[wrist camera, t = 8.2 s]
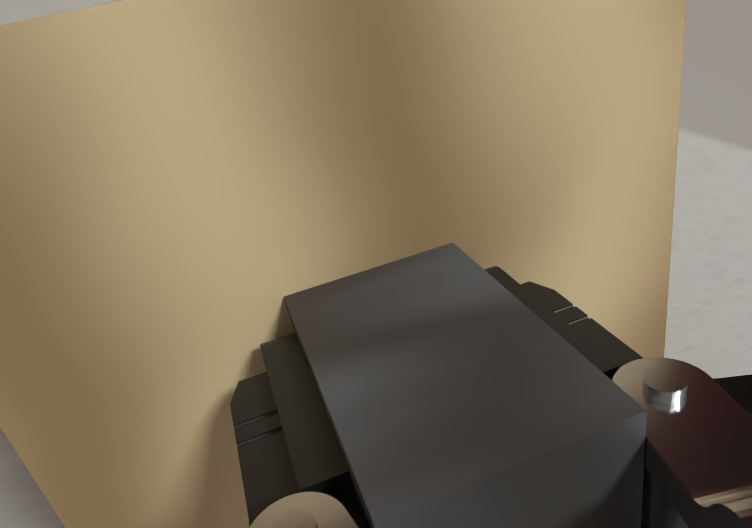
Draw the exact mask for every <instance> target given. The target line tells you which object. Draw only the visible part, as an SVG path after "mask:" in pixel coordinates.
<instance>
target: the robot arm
mask: <svg viewBox="0 0 752 528" xmlns="http://www.w3.org/2000/svg"><path fill="white" fill-rule="evenodd" d="M484 270H485V271H486V272H487V273H489V274H490V275H491V276H492V277H493V278H494V279H496V280H497V281H498V282H499V283H500V284H501V285H502V286H504V287H505V288H506V289H507V290H508V291H509V292H511V293H512V294H513V295H514V296H515V297H516V298H517V299H519V300H520V301H521V302H522V303H523V304H524V305H526V306H527V307H528V308H529V309H530V310H531V311H532V312H534V313H535V314H536V315H537V316H538V317H539V318H541V319H542V320H543V321H544V322H545V323H546V324H547V325H549V326H550V327H551V328H552V329H553V330H554V331H556V332H557V333H558V334H559V335H560V336H561V337H562V338H564V339H565V340H566V341H567V342H568V343H569V344H571V345H572V346H573V347H574V348H575V349H576V350H577V351H579V352H580V353H581V354H582V355H583V356H584V357H586V358H587V359H588V360H589V361H590V362H591V363H592V364H594V365H595V366H596V367H597V368H598V369H599V370H600V371H602V372H603V373H604V374H605V375H606V376H607V377H609V378H610V379H611V380H612V381H613V382H614V383H615V384H617V385H618V386H619V387H620V388H621V389H622V390H624V391H625V392H626V393H627V394H628V395H629V396H630V397H632V398H633V399H634V400H635V401H636V402H637V403H639V404H640V405H641V406H642V407H643V408H644V409H645V410H647V416H646V436H645V456H644V476H643V495H642V515H641V528H752V375H743V376H735V377H726V378H716V379H712V378H711V377H710V376H709V375H708V374H707V373H706V372H704V371H703V370H701V369H699V368H698V367H695V366H693V365H691V364H689V363H686V362H683V361H679V360H675V359H670V358H660V357H652V358H643V357H642V356H640V355H639V354H638V353H637V352H635V351H634V350H633V349H631V348H630V347H629V346H627V345H626V344H625V343H623V342H622V341H621V340H620V339H618V338H617V337H616V336H614V335H613V334H612V333H610V332H609V331H608V330H606V329H605V328H604V327H603V326H601V325H600V324H599V323H597V322H596V321H595V320H593V319H592V318H590V319H589V318H588V315H587V314H586V313H584V312H583V311H582V310H580V309H579V308H578V307H574V306H573V304H572V303H571V302H570V301H568V300H567V299H566V298H565V297H563V296H562V295H561V294H559V293H558V292H557V291H555V290H554V289H551V288H548V287H545V286H542V285H539V284H536V283H533V282H530V281H529V282H526V283H523V284H519V283H518V282H517V281H516V280H514V279H513V278H512V277H511V276H509V275H508V274H507V273H506V272H505V271H503V270H502V269H501V268H499V267H498V266H493V267H490V268H487V269H484ZM260 348H261V352H262V355H263V359H264V363H265V366H266V370H267V372H264V373H261V374H258V375H255V376H252V377H249V378H247V379H244V380H241V381H239V382H238V384H237V387H236V389H235V392H234V394H233V397H232V399H231V402H230V408H231V414H232V420H233V426H234V432H235V438H236V444H237V447H238V448H237V450H238V457H239V463H240V469H241V475H242V481H243V487H244V493H245V499H246V505H247V511H248V518H249V528H365V525H364V521H363V518H362V514H361V510H360V507H359V503H358V500H357V496H356V493H355V489H354V486H353V482H352V478H351V475H350V471H349V469H348V466H347V463H346V461H345V458H344V456H343V453H342V451H341V448H340V446H339V443H338V440H337V438H336V435H335V433H334V430H333V428H332V425H331V422H330V420H329V417H328V415H327V412H326V410H325V407H324V404H323V402H322V399H321V397H320V394H319V392H318V389H317V387H316V384H315V381H314V379H313V376H312V374H311V371H310V369H309V366H308V363H307V361H306V358H305V356H304V353H303V351H302V348H301V345H300V343H299V340H298V338H297V335H296V333H292V334H289V335H286V336H283V337H280V338H277V339H274V340H271V341H268V342H265V343H262V344H260Z"/></svg>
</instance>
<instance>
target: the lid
mask: <svg viewBox="0 0 752 528" xmlns="http://www.w3.org/2000/svg"><path fill="white" fill-rule="evenodd" d="M686 6H687V0H122V1H117V2H113V3H108V4H103V5H98V6H93V7H88V8H83V9H78V10H74V11H69V12H64V13H59V14H54V15H49V16H44V17H39V18H34V19H30V20H25V21H20V22H15V23H10V24H5V25H0V428H1V430H2V431H3V433H4V434H5V436H6V437H7V439H8V440H9V442H10V443H11V445H12V447H13V448H14V450H15V451H16V453H17V454H18V456H19V457H20V459H21V461H22V462H23V464H24V465H25V467H26V468H27V470H28V471H29V473H30V475H31V476H32V478H33V479H34V481H35V482H36V484H37V485H38V487H39V489H40V490H41V492H42V493H43V495H44V496H45V498H46V499H47V501H48V503H49V504H50V506H51V507H52V509H53V510H54V512H55V513H56V515H57V517H58V518H59V520H60V521H61V523H62V524H63V526H64V527H65V528H249V518H248V511H247V505H246V499H245V493H244V487H243V481H242V475H241V469H240V463H239V457H238V450H237V448H238V447H237V444H236V438H235V432H234V426H233V420H232V414H231V408H230V402H231V399H232V397H233V394H234V392H235V389H236V387H237V384H238V382H239V381H241V380H244V379H247V378H249V377H252V376H255V375H258V374H261V373H264V372H267V370H266V366H265V363H264V359H263V355H262V352H261V348H260V344H262V343H265V342H268V341H271V340H274V339H277V338H280V337H283V336H286V335H289V334H292V333H296V335H297V338H298V340H299V343H300V345H301V348H302V351H303V353H304V356H305V358H306V361H307V363H308V366H309V369H310V371H311V374H312V376H313V379H314V381H315V384H316V387H317V389H318V392H319V394H320V397H321V399H322V402H323V404H324V407H325V410H326V412H327V415H328V417H329V420H330V422H331V425H332V428H333V430H334V433H335V435H336V438H337V440H338V443H339V446H340V448H341V451H342V453H343V456H344V458H345V461H346V463H347V466H348V469H349V471H350V475H351V478H352V482H353V486H354V489H355V493H356V496H357V500H358V503H359V507H360V510H361V514H362V518H363V521H364V525H365V528H641V515H642V495H643V476H644V456H645V436H646V416H647V410H645V409H644V408H643V407H642V406H641V405H640V404H639V403H637V402H636V401H635V400H634V399H633V398H632V397H630V396H629V395H628V394H627V393H626V392H625V391H624V390H622V389H621V388H620V387H619V386H618V385H617V384H615V383H614V382H613V381H612V380H611V379H610V378H609V377H607V376H606V375H605V374H604V373H603V372H602V371H600V370H599V369H598V368H597V367H596V366H595V365H594V364H592V363H591V362H590V361H589V360H588V359H587V358H586V357H584V356H583V355H582V354H581V353H580V352H579V351H577V350H576V349H575V348H574V347H573V346H572V345H571V344H569V343H568V342H567V341H566V340H565V339H564V338H562V337H561V336H560V335H559V334H558V333H557V332H556V331H554V330H553V329H552V328H551V327H550V326H549V325H547V324H546V323H545V322H544V321H543V320H542V319H541V318H539V317H538V316H537V315H536V314H535V313H534V312H532V311H531V310H530V309H529V308H528V307H527V306H526V305H524V304H523V303H522V302H521V301H520V300H519V299H517V298H516V297H515V296H514V295H513V294H512V293H511V292H509V291H508V290H507V289H506V288H505V287H504V286H502V285H501V284H500V283H499V282H498V281H497V280H496V279H494V278H493V277H492V276H491V275H490V274H489V273H487V272H486V271H485V270H484V269H487V268H490V267H493V266H498V267H499V268H501V269H502V270H503V271H505V272H506V273H507V274H508V275H509V276H511V277H512V278H513V279H514V280H516V281H517V282H518V283H519V284H523V283H526V282H529V281H530V282H533V283H536V284H539V285H542V286H545V287H548V288H551V289H554V290H555V291H557V292H558V293H559V294H561V295H562V296H563V297H565V298H566V299H567V300H568V301H570V302H571V303H572V304H573V306H574V307H578V308H579V309H580V310H582V311H583V312H584V313H586V314H587V315H588V318H589V319H590V318H592V319H593V320H595V321H596V322H597V323H599V324H600V325H601V326H603V327H604V328H605V329H606V330H608V331H609V332H610V333H612V334H613V335H614V336H616V337H617V338H618V339H620V340H621V341H622V342H623V343H625V344H626V345H627V346H629V347H630V348H631V349H633V350H634V351H635V352H637V353H638V354H639V355H640V356H642V357H643V358H652V357H660V358H664V347H665V331H666V316H667V300H668V285H669V269H670V254H671V238H672V223H673V207H674V192H675V176H676V161H677V145H678V130H679V114H680V98H681V97H680V96H681V83H682V68H683V52H684V37H685V20H686Z"/></svg>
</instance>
